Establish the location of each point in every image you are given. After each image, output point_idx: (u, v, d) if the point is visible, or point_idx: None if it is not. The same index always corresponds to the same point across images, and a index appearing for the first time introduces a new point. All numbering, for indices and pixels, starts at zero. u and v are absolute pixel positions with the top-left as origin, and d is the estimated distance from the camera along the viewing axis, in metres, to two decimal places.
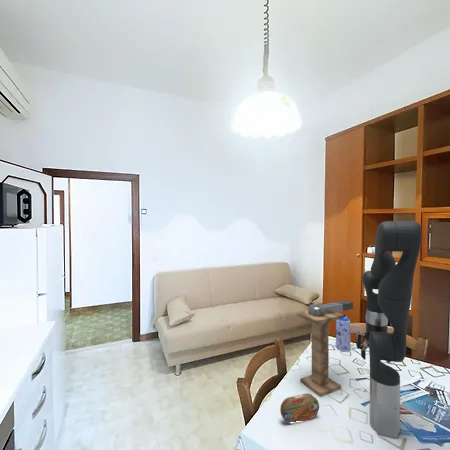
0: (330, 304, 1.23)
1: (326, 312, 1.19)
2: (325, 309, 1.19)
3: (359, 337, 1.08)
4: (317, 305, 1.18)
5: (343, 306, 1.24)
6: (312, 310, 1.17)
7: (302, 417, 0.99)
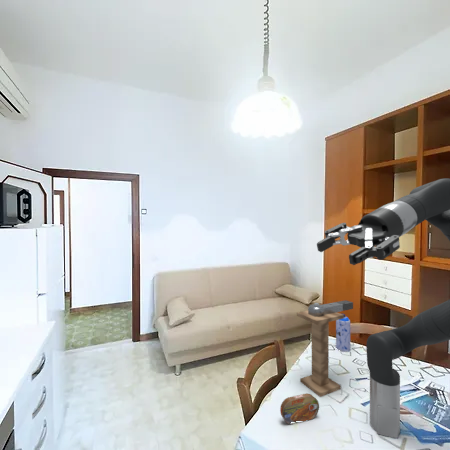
0: (330, 304, 1.23)
1: (326, 312, 1.19)
2: (325, 309, 1.19)
3: None
4: (317, 305, 1.18)
5: (343, 306, 1.24)
6: (312, 310, 1.17)
7: (302, 417, 0.99)
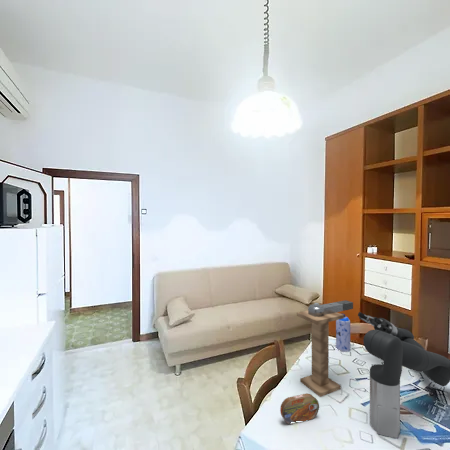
0: (330, 304, 1.23)
1: (326, 312, 1.19)
2: (325, 309, 1.19)
3: (388, 329, 1.30)
4: (317, 305, 1.18)
5: (343, 306, 1.24)
6: (312, 310, 1.17)
7: (302, 417, 0.99)
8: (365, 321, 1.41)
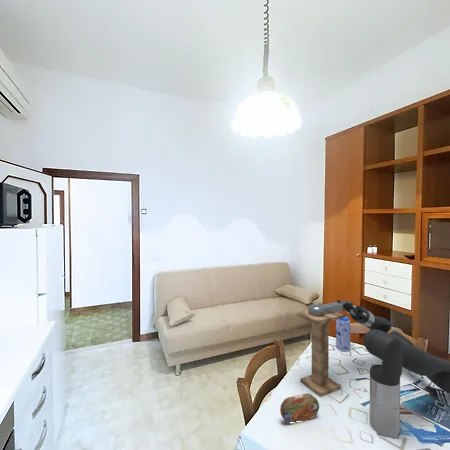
0: (330, 304, 1.23)
1: (326, 312, 1.19)
2: (325, 309, 1.19)
3: (362, 316, 1.24)
4: (317, 305, 1.18)
5: (343, 306, 1.24)
6: (312, 310, 1.17)
7: (302, 417, 0.99)
8: None
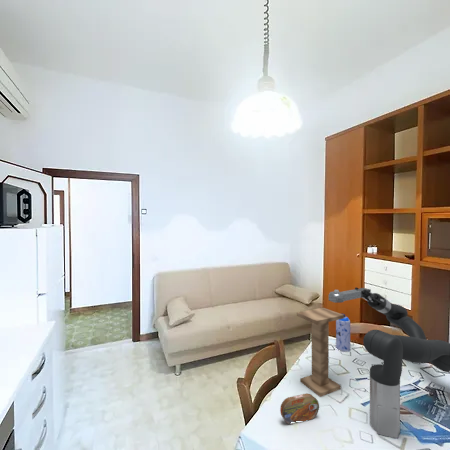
0: (349, 291, 1.29)
1: (346, 298, 1.25)
2: (345, 295, 1.24)
3: (380, 302, 1.30)
4: (337, 292, 1.24)
5: (362, 293, 1.29)
6: (332, 296, 1.23)
7: (302, 417, 0.99)
8: None
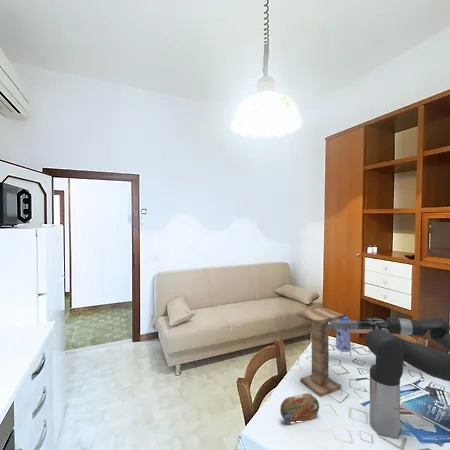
0: (346, 321, 1.38)
1: (336, 327, 1.37)
2: (334, 324, 1.37)
3: None
4: None
5: (359, 325, 1.34)
6: None
7: (302, 417, 0.99)
8: None
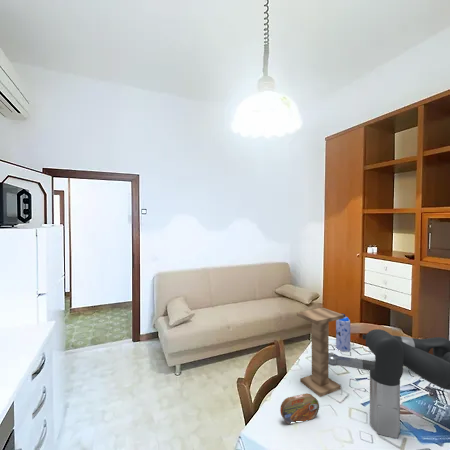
0: (351, 359, 1.37)
1: (340, 364, 1.37)
2: (339, 361, 1.37)
3: None
4: (331, 355, 1.39)
5: (364, 365, 1.33)
6: None
7: (302, 417, 0.99)
8: None
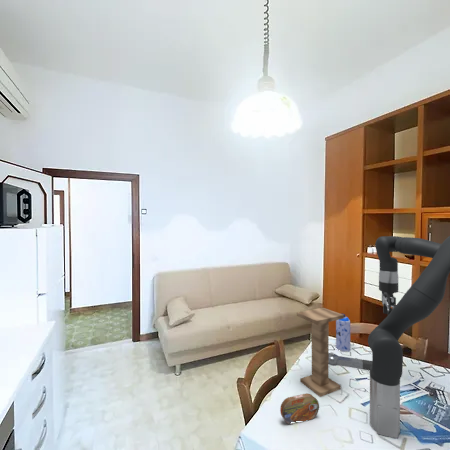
0: (351, 359, 1.37)
1: (340, 364, 1.37)
2: (339, 361, 1.37)
3: None
4: (331, 355, 1.39)
5: (364, 365, 1.33)
6: None
7: (302, 417, 0.99)
8: None
